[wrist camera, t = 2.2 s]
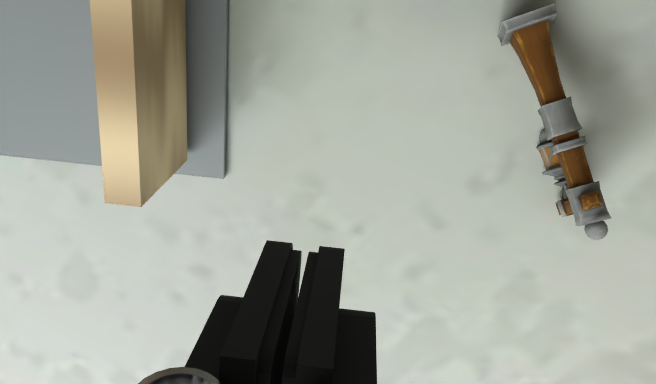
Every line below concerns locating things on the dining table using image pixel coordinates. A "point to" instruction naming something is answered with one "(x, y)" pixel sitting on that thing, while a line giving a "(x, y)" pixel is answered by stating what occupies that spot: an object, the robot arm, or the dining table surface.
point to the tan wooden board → (140, 94)
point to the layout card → (80, 83)
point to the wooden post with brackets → (557, 121)
